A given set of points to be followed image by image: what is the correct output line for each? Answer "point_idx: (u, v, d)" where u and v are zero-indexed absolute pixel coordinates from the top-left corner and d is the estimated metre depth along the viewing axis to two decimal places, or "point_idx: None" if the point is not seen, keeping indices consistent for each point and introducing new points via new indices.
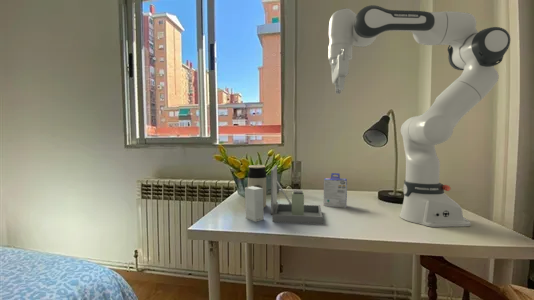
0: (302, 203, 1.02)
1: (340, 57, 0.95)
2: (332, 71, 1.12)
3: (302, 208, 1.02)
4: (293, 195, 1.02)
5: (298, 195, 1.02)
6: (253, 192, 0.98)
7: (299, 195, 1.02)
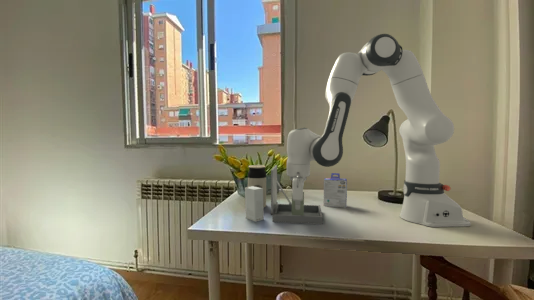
0: (302, 203, 1.02)
1: (294, 184, 0.94)
2: None
3: (302, 208, 1.02)
4: None
5: None
6: (253, 192, 0.98)
7: None
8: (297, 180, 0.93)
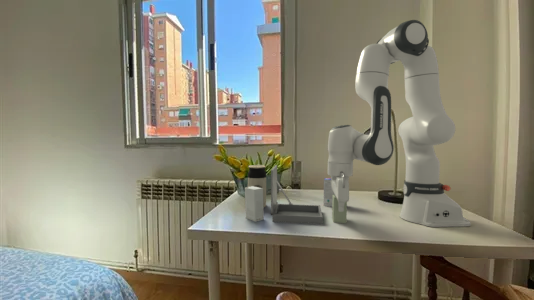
0: (345, 207, 0.97)
1: (340, 184, 0.89)
2: (331, 178, 1.07)
3: (345, 212, 0.97)
4: (335, 199, 0.97)
5: None
6: (253, 192, 0.98)
7: None
8: (344, 180, 0.88)
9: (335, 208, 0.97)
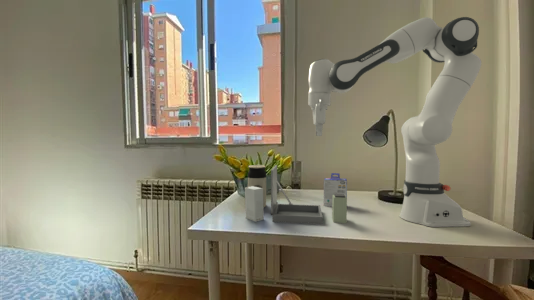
0: (345, 207, 0.97)
1: (317, 107, 1.01)
2: (313, 113, 1.18)
3: (345, 212, 0.97)
4: (335, 199, 0.97)
5: (341, 199, 0.97)
6: (253, 192, 0.98)
7: (342, 199, 0.97)
8: (320, 103, 1.00)
9: (335, 208, 0.97)
